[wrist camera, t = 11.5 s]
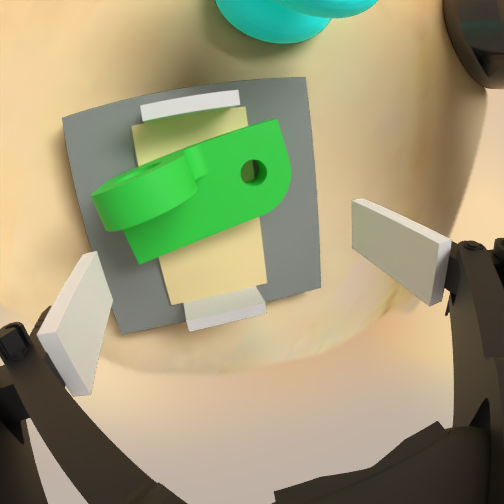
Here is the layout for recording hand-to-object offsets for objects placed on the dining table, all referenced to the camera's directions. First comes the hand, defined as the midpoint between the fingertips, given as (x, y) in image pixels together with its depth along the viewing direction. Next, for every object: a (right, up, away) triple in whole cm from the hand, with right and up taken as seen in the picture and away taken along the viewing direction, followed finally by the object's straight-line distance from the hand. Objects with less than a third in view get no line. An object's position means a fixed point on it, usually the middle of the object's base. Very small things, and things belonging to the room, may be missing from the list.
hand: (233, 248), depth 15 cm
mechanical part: (-3, +5, +7) cm, 9 cm away
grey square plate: (-3, +4, +9) cm, 11 cm away
